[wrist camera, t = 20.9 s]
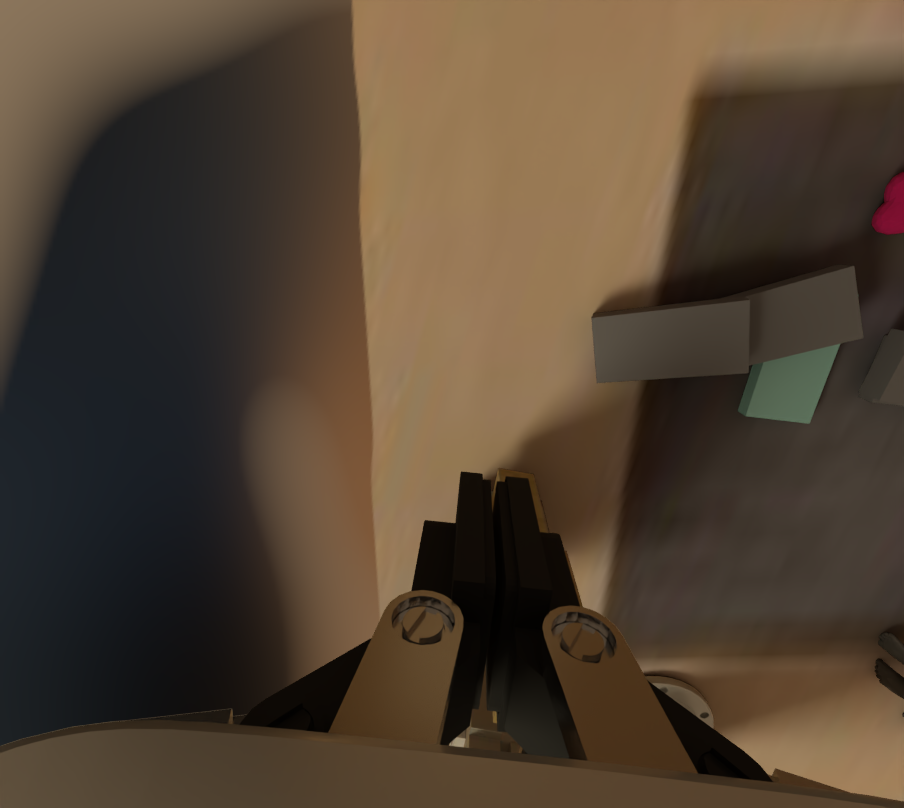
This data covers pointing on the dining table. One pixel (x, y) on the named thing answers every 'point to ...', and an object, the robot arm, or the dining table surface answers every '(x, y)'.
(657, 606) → the dining table surface
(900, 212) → the toy
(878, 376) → the domino
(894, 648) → the yeti figurine
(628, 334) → the domino
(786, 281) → the domino
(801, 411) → the domino
